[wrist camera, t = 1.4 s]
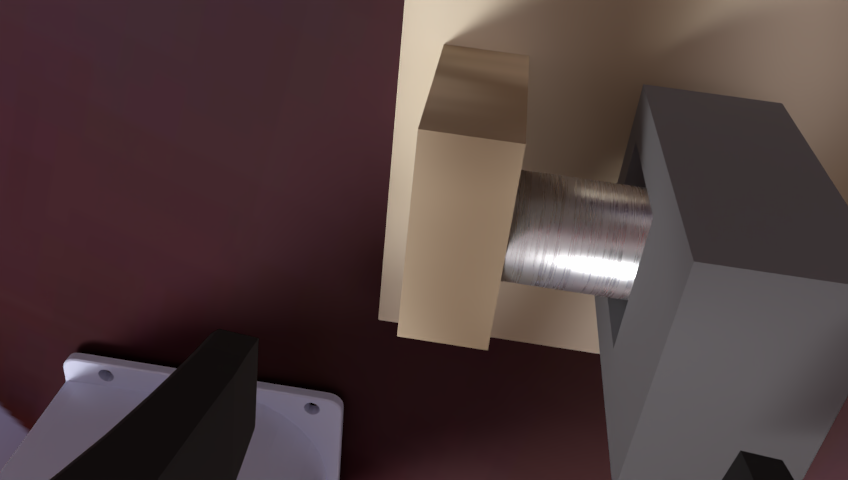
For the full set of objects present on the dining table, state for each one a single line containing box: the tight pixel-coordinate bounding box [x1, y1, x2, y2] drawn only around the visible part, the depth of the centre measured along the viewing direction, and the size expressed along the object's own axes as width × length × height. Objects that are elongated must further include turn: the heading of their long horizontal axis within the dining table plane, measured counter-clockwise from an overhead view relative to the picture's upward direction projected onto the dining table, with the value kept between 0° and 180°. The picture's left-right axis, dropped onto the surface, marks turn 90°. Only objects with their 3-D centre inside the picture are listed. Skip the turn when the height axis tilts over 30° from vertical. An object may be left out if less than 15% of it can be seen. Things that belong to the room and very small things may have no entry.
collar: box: [594, 84, 848, 480], centre depth 16 cm, size 3×5×7 cm, turn 174°
